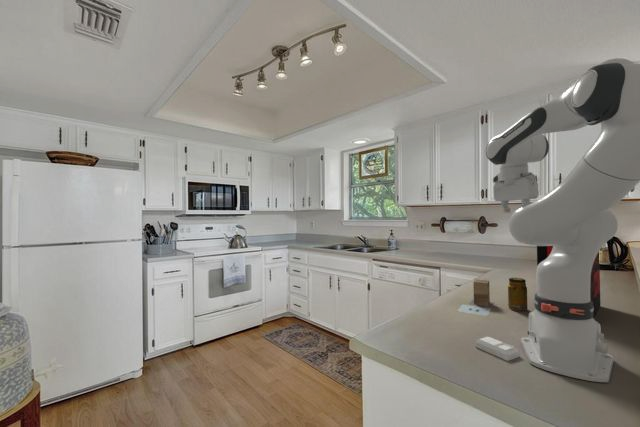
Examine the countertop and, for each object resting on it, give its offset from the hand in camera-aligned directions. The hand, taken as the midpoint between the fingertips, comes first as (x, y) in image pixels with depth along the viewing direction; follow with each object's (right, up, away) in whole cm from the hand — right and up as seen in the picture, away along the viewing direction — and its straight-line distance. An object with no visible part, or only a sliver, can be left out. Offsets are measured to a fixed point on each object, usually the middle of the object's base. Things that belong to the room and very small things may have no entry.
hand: (514, 212), depth 109 cm
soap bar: (-26, -38, -31) cm, 55 cm away
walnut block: (-7, -37, +9) cm, 39 cm away
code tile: (-15, -37, +1) cm, 40 cm away
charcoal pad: (-7, -37, +9) cm, 39 cm away
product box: (+22, -37, +1) cm, 43 cm away
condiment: (+3, -37, +1) cm, 37 cm away
